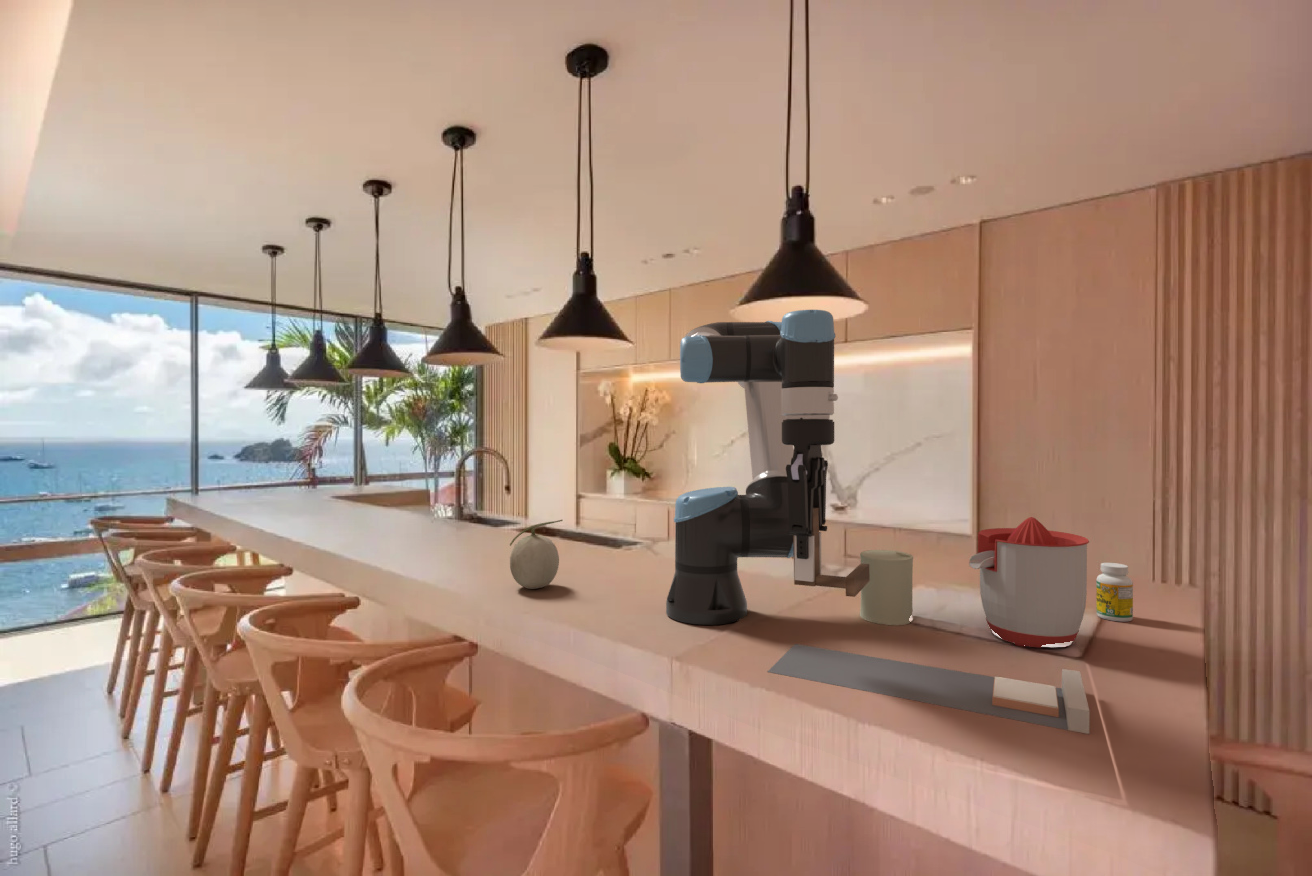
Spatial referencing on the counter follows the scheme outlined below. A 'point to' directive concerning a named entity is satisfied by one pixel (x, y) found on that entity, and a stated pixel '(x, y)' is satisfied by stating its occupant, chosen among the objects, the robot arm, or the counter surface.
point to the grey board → (929, 684)
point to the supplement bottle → (1114, 593)
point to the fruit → (534, 559)
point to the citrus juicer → (1032, 583)
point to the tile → (1025, 696)
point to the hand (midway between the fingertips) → (808, 577)
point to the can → (887, 587)
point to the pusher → (850, 583)
